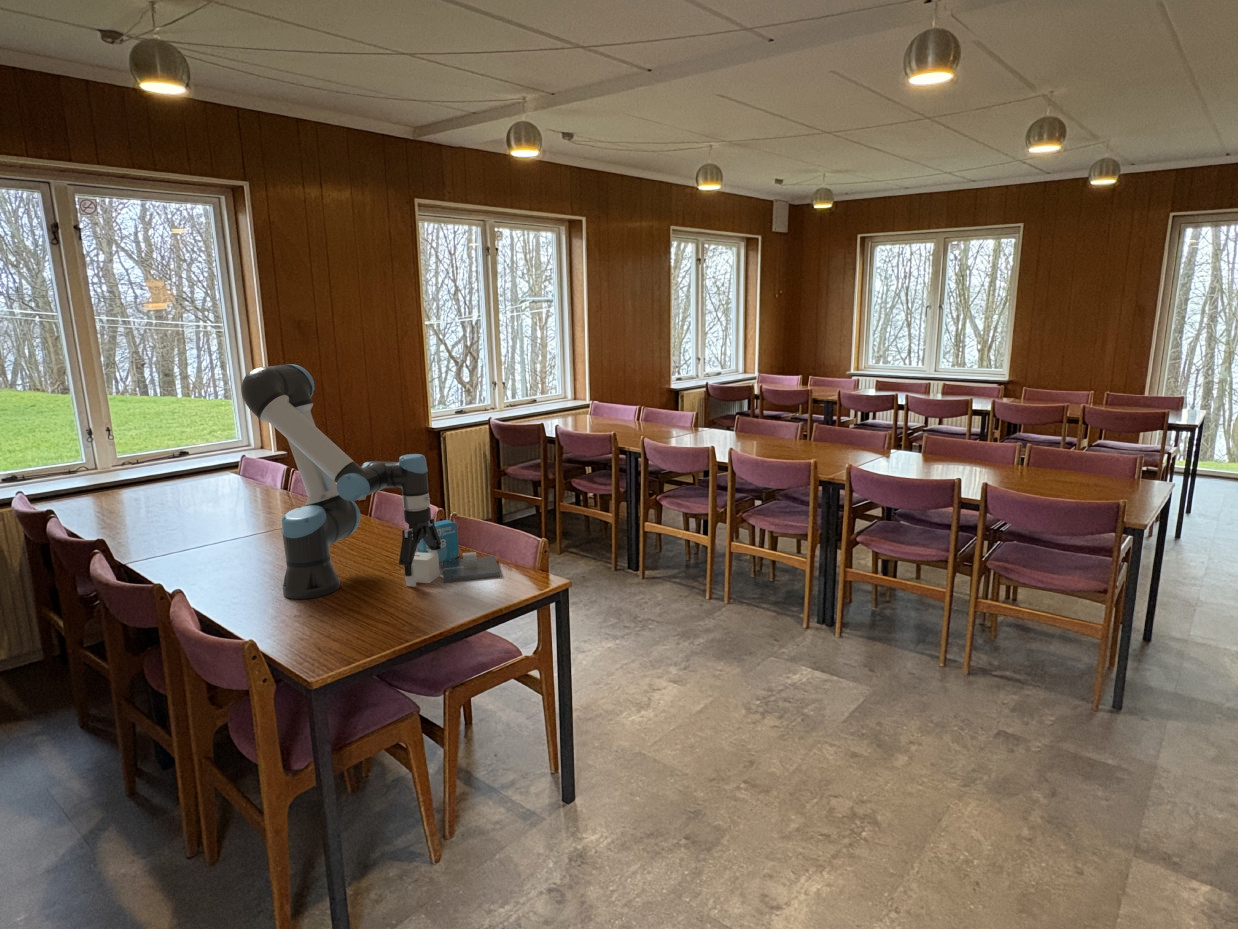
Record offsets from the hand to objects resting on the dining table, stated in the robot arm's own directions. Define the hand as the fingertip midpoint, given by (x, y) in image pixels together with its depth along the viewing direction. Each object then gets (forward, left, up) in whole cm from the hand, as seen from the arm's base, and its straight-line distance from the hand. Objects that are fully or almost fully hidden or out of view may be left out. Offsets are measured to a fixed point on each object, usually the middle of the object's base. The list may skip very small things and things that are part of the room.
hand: (423, 578), depth 228 cm
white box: (0, 0, 0) cm, 0 cm away
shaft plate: (+9, -11, 0) cm, 14 cm away
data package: (+16, +4, 0) cm, 17 cm away
